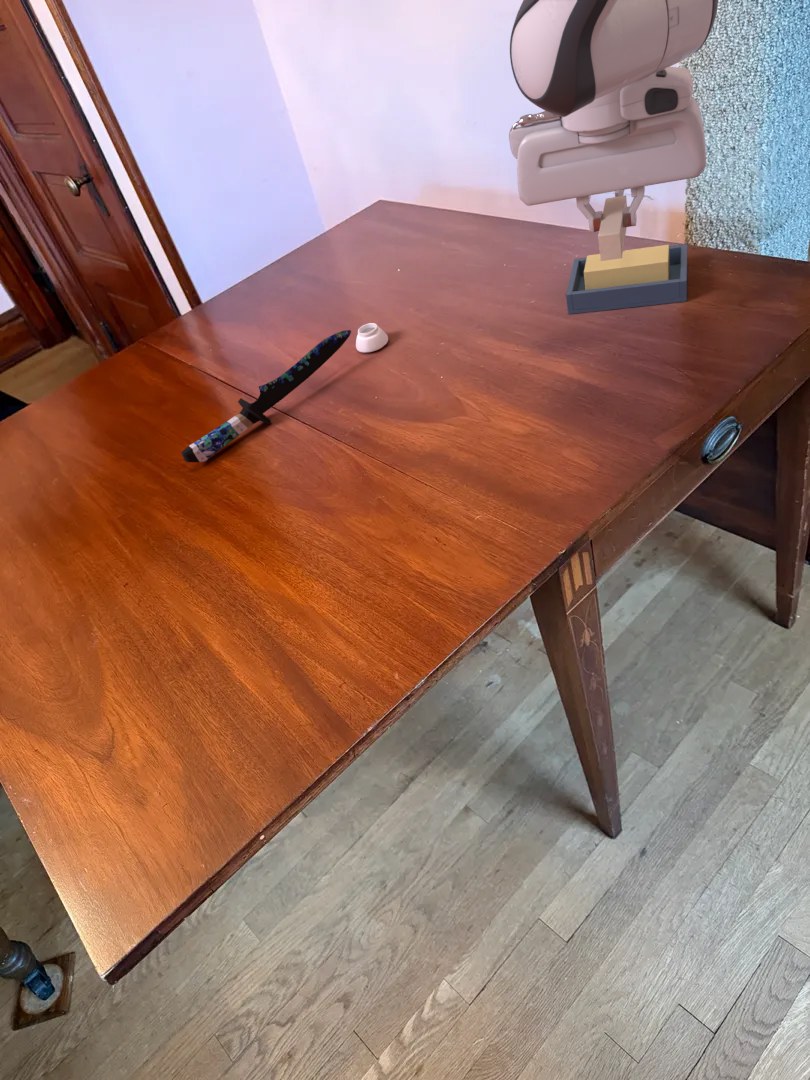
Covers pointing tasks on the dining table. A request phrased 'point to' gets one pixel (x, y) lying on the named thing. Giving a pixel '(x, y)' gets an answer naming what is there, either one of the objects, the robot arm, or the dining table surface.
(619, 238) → the butter knife
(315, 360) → the knife
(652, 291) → the butter dish
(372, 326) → the lidless jar
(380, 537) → the dining table surface
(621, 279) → the butter
